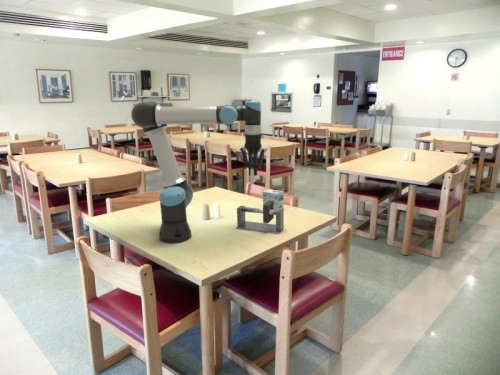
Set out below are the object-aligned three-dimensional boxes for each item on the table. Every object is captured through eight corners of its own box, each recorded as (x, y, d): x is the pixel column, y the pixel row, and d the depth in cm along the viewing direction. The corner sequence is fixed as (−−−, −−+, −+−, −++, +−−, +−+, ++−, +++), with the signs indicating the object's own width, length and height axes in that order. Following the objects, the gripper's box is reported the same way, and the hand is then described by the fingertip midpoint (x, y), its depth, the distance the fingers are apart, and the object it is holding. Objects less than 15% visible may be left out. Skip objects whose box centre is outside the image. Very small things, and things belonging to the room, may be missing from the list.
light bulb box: (283, 208, 219) (284, 190, 216) (278, 211, 213) (278, 193, 211) (268, 206, 225) (268, 188, 222) (262, 209, 219) (262, 191, 216)
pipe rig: (235, 228, 188) (234, 208, 185) (243, 222, 197) (242, 203, 194) (279, 233, 179) (279, 213, 177) (284, 227, 188) (285, 207, 186)
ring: (263, 222, 182) (262, 205, 179) (269, 217, 190) (268, 200, 187) (267, 223, 181) (267, 205, 178) (273, 217, 189) (273, 200, 187)
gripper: (237, 134, 176) (237, 182, 182) (263, 135, 172) (262, 184, 177) (243, 132, 183) (243, 179, 189) (268, 133, 179) (268, 181, 184)
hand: (253, 181), depth 183 cm, fingers closed
